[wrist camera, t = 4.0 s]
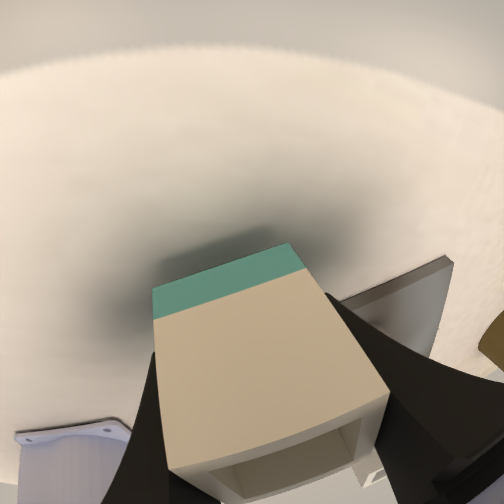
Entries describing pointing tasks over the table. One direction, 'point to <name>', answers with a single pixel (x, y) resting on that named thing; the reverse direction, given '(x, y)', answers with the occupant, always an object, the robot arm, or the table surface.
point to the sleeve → (260, 379)
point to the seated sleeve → (369, 470)
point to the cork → (494, 342)
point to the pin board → (408, 305)
